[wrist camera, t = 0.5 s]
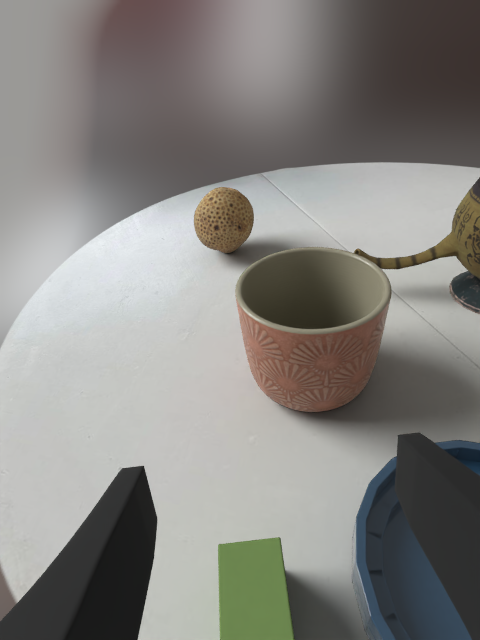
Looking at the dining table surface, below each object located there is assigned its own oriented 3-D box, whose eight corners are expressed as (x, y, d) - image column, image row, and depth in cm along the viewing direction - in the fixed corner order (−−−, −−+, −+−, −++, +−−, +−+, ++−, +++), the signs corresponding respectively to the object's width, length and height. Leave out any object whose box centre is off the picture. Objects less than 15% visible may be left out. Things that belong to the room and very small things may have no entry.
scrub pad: (297, 671, 21) (295, 649, 18) (232, 678, 21) (220, 657, 18) (283, 569, 25) (280, 536, 22) (228, 575, 25) (217, 543, 22)
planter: (351, 450, 31) (364, 353, 24) (223, 398, 37) (205, 307, 30) (389, 353, 39) (408, 260, 32) (280, 322, 45) (276, 237, 38)
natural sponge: (256, 266, 55) (249, 199, 49) (195, 270, 56) (182, 205, 50) (257, 237, 62) (252, 175, 56) (203, 241, 63) (192, 180, 57)
